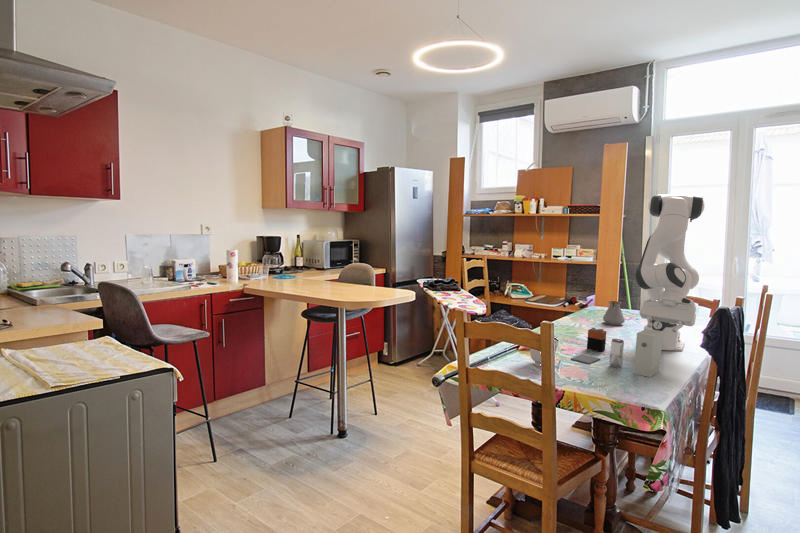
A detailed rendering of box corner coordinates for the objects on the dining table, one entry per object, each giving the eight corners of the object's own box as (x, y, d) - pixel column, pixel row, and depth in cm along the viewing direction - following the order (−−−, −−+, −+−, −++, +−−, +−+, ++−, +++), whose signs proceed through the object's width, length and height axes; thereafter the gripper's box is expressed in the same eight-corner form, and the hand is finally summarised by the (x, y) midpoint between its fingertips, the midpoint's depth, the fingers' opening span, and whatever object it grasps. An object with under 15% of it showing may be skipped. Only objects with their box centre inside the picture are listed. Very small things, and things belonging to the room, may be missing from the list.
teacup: (555, 359, 194) (556, 336, 193) (559, 371, 180) (560, 345, 179) (525, 357, 197) (526, 334, 196) (526, 367, 183) (528, 343, 182)
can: (612, 364, 191) (614, 337, 190) (623, 366, 188) (626, 340, 186) (607, 366, 188) (609, 339, 187) (619, 369, 185) (621, 342, 183)
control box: (643, 367, 187) (646, 328, 185) (659, 371, 183) (663, 331, 181) (633, 373, 180) (636, 333, 178) (649, 377, 175) (653, 336, 174)
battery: (601, 352, 208) (603, 330, 207) (586, 349, 212) (587, 327, 211) (605, 350, 211) (606, 329, 210) (590, 347, 216) (591, 326, 214)
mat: (581, 355, 202) (581, 354, 202) (600, 359, 196) (600, 358, 196) (570, 359, 195) (570, 358, 195) (589, 364, 189) (589, 363, 189)
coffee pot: (603, 320, 275) (605, 295, 273) (625, 323, 269) (627, 298, 268) (599, 327, 256) (601, 301, 255) (622, 330, 251) (624, 303, 249)
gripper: (643, 294, 200) (633, 319, 194) (698, 301, 185) (688, 329, 180) (646, 303, 204) (636, 328, 198) (700, 311, 189) (690, 338, 183)
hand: (661, 329), depth 189 cm, fingers open, 8 cm apart
